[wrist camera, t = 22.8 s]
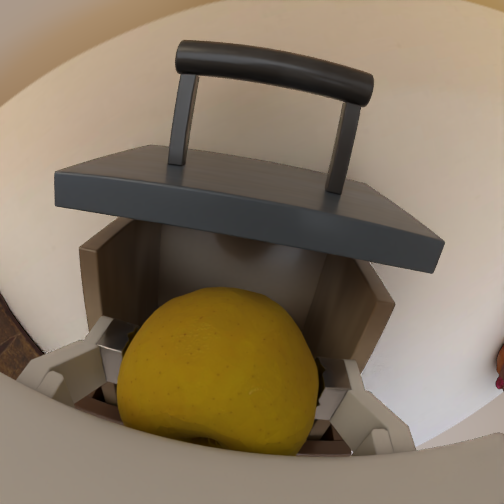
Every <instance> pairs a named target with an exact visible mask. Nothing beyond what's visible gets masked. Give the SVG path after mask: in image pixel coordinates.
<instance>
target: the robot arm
mask: <svg viewBox="0 0 504 504" xmlns="http://www.w3.org/2000/svg"><path fill="white" fill-rule="evenodd" d="M139 329H140V326H139V325H135V324H132V323H128V322H125V321H121V320H118V319H113V318H110V317H107V316H101V317H100V318H99V320H98V321H97V322H96V324H95V325H94V326H93V328H92V329H91V331H90V332H89V333H88V335H87V336H86V337H85V339H84V340H83V341H82V340H79V341H76V342H74V343H71V344H69V345H66V346H64V347H62V348H59V349H57V350H54V351H52V352H50V353H47V354H45V355H42V356H40V357H37V358H35V359H32V360H31V361H30V362H29V364H28V365H27V366H26V368H25V369H24V370H23V371H22V373H21V374H20V375H19V377H18V378H17V380H14V379H12V378H10V377H8V376H7V375H5V374H3V373H1V372H0V504H504V434H503V433H493V434H490V435H486V436H482V437H479V438H475V439H472V440H467V441H463V442H459V443H454V444H449V445H444V446H439V447H434V448H428V449H422V450H416V448H415V445H414V442H413V438H412V435H411V432H410V429H409V426H408V425H406V424H405V423H404V422H403V421H402V420H401V419H400V418H399V417H397V416H396V415H395V414H394V413H393V412H392V411H391V410H390V409H388V408H387V407H386V406H385V405H384V404H383V403H382V402H381V401H379V400H378V399H377V398H376V397H375V396H374V395H373V394H372V393H371V392H369V391H365V388H364V385H363V382H362V378H361V375H360V372H359V369H358V365H357V362H356V361H355V360H350V359H334V358H323V357H317V358H316V359H315V363H316V366H317V370H318V378H319V388H318V397H317V405H316V413H315V419H321V420H330V422H331V424H332V425H333V426H334V428H335V429H336V430H337V432H338V433H339V434H340V436H341V437H342V438H343V440H344V441H345V442H346V443H347V445H348V446H349V447H350V449H351V450H352V451H353V454H352V455H351V456H346V457H305V456H283V455H270V454H259V453H249V452H241V451H233V450H226V449H220V448H214V447H208V446H203V445H197V444H192V443H187V442H183V441H178V440H174V439H170V438H165V437H161V436H158V435H154V434H150V433H146V432H143V431H139V430H136V429H132V428H129V427H126V426H123V425H119V424H116V423H113V422H110V421H107V420H105V419H102V418H99V417H96V416H93V415H91V414H88V413H85V412H83V411H80V410H78V409H76V408H75V406H74V403H76V402H77V401H79V400H81V399H82V398H84V397H85V396H87V395H88V394H90V393H91V392H93V391H94V390H96V389H97V388H99V387H100V386H102V385H103V384H105V383H106V381H108V382H112V383H115V384H117V381H118V375H119V370H120V365H121V362H122V359H123V357H124V355H125V353H126V350H127V348H128V346H129V345H130V343H131V341H132V339H133V338H134V337H135V335H136V334H137V332H138V331H139Z"/></svg>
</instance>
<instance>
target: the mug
mask: <svg viewBox="0 0 504 504" xmlns="http://www.w3.org/2000/svg"><path fill="white" fill-rule="evenodd" d="M497 372H498V374H499V377H498V378H497V381H496V387H497V388H498V389H503V391H504V345H503V346H502V348H501V350H500V351H499V354H498V356H497Z"/></svg>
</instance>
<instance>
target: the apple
mask: <svg viewBox="0 0 504 504" xmlns="http://www.w3.org/2000/svg"><path fill="white" fill-rule="evenodd" d="M318 388H319V378H318V370H317V366H316V363H315V360H314V358H313V356H312V354H311V351H310V349H309V347H308V345H307V343H306V341H305V339H304V337H303V335H302V332H301V331H300V329H299V327H298V326H297V324H296V323H295V322H294V320H293V319H292V317H291V316H290V315H289V314H288V313H287V311H286V310H285V309H284V308H283V307H281V306H280V305H279V304H278V303H276V302H275V301H273V300H271V299H270V298H269V297H267V296H266V295H263V294H261V293H256V292H252V291H249V290H244V289H239V288H231V287H207V288H203V289H199V290H196V291H194V292H191V293H188V294H185V295H182V296H179V297H176V298H173V299H171V300H169V301H168V302H166V303H165V304H163V305H162V306H161V307H159V308H158V309H157V310H155V311H154V313H153V314H152V315H151V316H150V317H149V318H148V319H147V320H146V321H145V323H144V324H143V325H142V327H141V328H140V329H139V331H138V332H137V334H136V335H135V337H134V338H133V339H132V341H131V343H130V345H129V346H128V348H127V350H126V353H125V355H124V357H123V359H122V362H121V365H120V370H119V375H118V381H117V403H118V410H119V413H120V417H121V420H122V422H123V424H124V426H126V427H129V428H132V429H136V430H139V431H143V432H146V433H150V434H154V435H158V436H161V437H165V438H170V439H174V440H178V441H183V442H187V443H192V444H197V445H203V446H208V447H214V448H220V449H226V450H233V451H241V452H249V453H259V454H270V455H283V456H296V454H297V453H298V452H299V450H300V449H301V447H302V446H303V444H304V443H305V442H306V439H307V437H308V435H309V433H310V431H311V429H312V426H313V423H314V419H315V413H316V405H317V397H318Z"/></svg>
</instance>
